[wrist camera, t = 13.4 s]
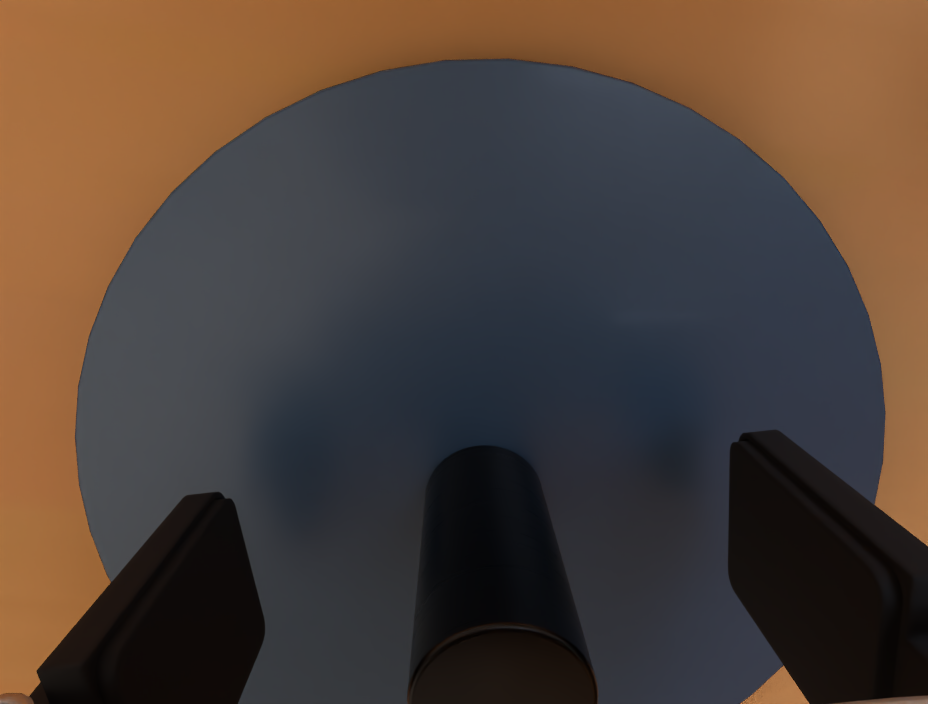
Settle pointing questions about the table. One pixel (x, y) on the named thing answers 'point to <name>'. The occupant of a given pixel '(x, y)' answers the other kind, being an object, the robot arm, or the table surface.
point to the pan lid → (478, 384)
